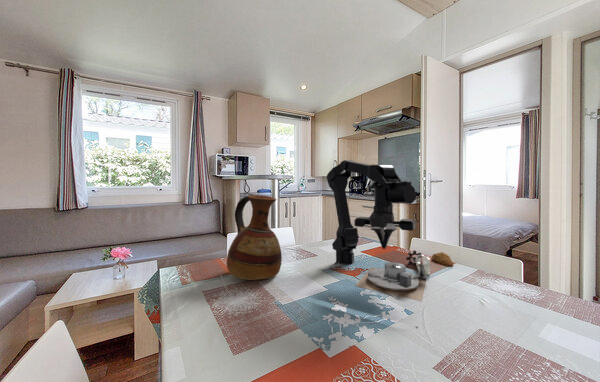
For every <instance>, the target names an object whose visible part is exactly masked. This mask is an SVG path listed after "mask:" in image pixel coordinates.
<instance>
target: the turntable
mask: <svg viewBox="0 0 600 382" xmlns="http://www.w3.org/2000/svg"><path fill="white" fill-rule="evenodd" d="M368 271H369V270H368ZM368 271H367V272H368ZM384 273H385V267H378V268H377V269H373V270H371V271H369V272H368V280H369V282H370V283H372V284H373V285H375V286H377V287H379V288H382V289H386V290H391V291H411V290H414V289H416V288H418V286H419V279H418V278H417V277H416V276H415V273H414V274H413V273H412V272H409V271H407V270H406V273H402V274H400V282H392V281H389V280H387V279H385V278H384Z"/></svg>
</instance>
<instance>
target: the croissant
mask: <svg viewBox="0 0 600 382" xmlns="http://www.w3.org/2000/svg"><path fill="white" fill-rule="evenodd" d="M431 258H432V260H433V261H434V262H435V263H438V264H440V265H442V266H446V267H450V268H454V262H453V261H452V259H451V257H450V256H449V255H448V254H447V253H445V252H442V251H441V252H438V253H433V254H432V256H431Z"/></svg>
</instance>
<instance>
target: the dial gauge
mask: <svg viewBox="0 0 600 382" xmlns="http://www.w3.org/2000/svg"><path fill="white" fill-rule="evenodd" d="M415 257H416V258H415V262H416V264H417V265H418V266H420V274H419V273H418V272H417V274H416V275H417V276H416V277H417V278H418V279H421V280H426V281H427V280H428V275H424V267H426V266H427V265H428V262H429V261H428V258H429V257H427V256H426V255H424V254H422V255H418V256H417V255H416V256H415ZM415 262H414V263H415Z"/></svg>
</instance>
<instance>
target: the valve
mask: <svg viewBox="0 0 600 382" xmlns="http://www.w3.org/2000/svg"><path fill="white" fill-rule="evenodd" d="M412 252H413V253H412ZM412 252H410V251H409V252H407V255H408V256H406V257H405V260H406V261H408V262H407V264H408V265H410V266H411V265H414V266H416V267H417V273H418V274H420V266H418V265H417V264H416V262H415V258H416V257H417V256H418V255H423V254H422V252H417V251H416V250H413V251H412ZM427 258H428V261H429V262H428V265H427V266H426V267H424V275H427V276H431V273H430V272H431V265H430V264H431V259H430V258H429V257H427Z"/></svg>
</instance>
